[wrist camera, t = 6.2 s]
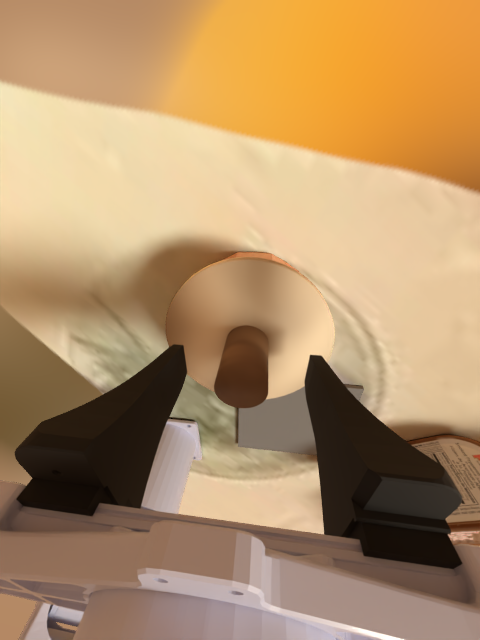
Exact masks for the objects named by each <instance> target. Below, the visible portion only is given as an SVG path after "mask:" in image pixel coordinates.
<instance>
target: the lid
mask: <svg viewBox="0 0 480 640" xmlns="http://www.w3.org/2000/svg"><path fill="white" fill-rule="evenodd" d="M166 336H167V341H168V344H169V347H170V346H172V345H173V344H177V345H184V352H185V359H186V366H187V374H188V375H189V376H190V377H191V378H193V379H194V380H195V381H196V382H198V383H199V384H201V385H202V386H204V387H206V388H208V389H210V390H212V391H214V392H215V393H216V395H217V396H218V398H219V399H220V400H221V401H223V402H224V403H226V404H228V405H230V406H233V407H237V408H252V407H255V406H258V405H260V404H261V403H263V402H264V401H265V399H272V398H277V397H281V396H285V395H287V394H290V393H293V392H295V391H297V390H299V389H301V388H302V387H304V386H305V383H304V380H305V376H306V371H307V367H308V362H309V357H310V355H321V356H322V357H323V358H324V359H325V361H326V362H328V360H329V358H330V356H331V353H332V350H333V347H334V340H335V328H334V323H333V318H332V315H331V313H330V310H329V308H328V306H327V303H326V301H325V300H324V298H323V296H322V294H321V293H320V292H319V290H318V289H317V288H316V287H315V285H314V284H313V283H312V282H311V281H309V280H308V279H307V278H306V277H305V276H304V275H302V274H301V273H299V272H298V271H296V270H295V269H293V268H291V267H289V266H287V265H285V264H282V263H279V262H276V261H273V260H269V259H264V258H256V257H237V258H230V259H225V260H221V261H218V262H215V263H212V264H210V265H208V266H206V267H204V268H202V269H201V270H199V271H198V272H196V273H195V274H194V275H192V276H191V277H190V278H189V279H188V280H187V281H186V282H185V283H184V284H183V286H182V287H181V288H180V289H179V291H178V292H177V293H176V295H175V296H174V298H173V300H172V302H171V304H170V306H169V309H168V312H167V317H166Z"/></svg>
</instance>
